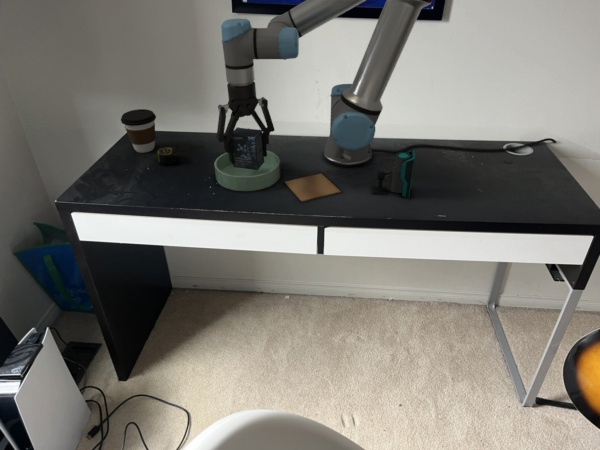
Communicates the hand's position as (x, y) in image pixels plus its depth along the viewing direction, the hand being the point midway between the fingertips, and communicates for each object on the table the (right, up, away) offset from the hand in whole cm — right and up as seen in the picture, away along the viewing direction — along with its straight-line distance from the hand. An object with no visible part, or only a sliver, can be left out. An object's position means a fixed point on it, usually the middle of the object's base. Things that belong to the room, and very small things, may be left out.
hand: (248, 158), depth 139 cm
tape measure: (-26, +1, +12) cm, 29 cm away
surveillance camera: (+41, -10, -6) cm, 43 cm away
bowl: (0, -5, +3) cm, 6 cm away
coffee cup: (-37, +6, +20) cm, 42 cm away
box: (0, -2, +1) cm, 2 cm away
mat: (+19, -9, -3) cm, 21 cm away
